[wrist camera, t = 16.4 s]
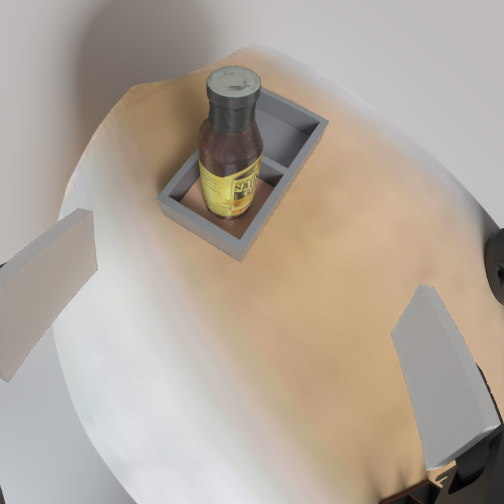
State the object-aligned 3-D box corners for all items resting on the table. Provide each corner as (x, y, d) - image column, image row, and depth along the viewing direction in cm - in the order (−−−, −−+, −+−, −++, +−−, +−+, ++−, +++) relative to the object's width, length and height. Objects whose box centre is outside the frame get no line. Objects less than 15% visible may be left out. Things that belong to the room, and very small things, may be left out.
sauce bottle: (240, 230, 36) (254, 126, 17) (195, 210, 37) (170, 100, 18) (260, 187, 38) (287, 72, 19) (217, 170, 38) (214, 51, 19)
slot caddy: (319, 140, 43) (329, 121, 38) (240, 262, 37) (242, 252, 32) (254, 106, 44) (257, 85, 39) (164, 214, 37) (156, 198, 33)
